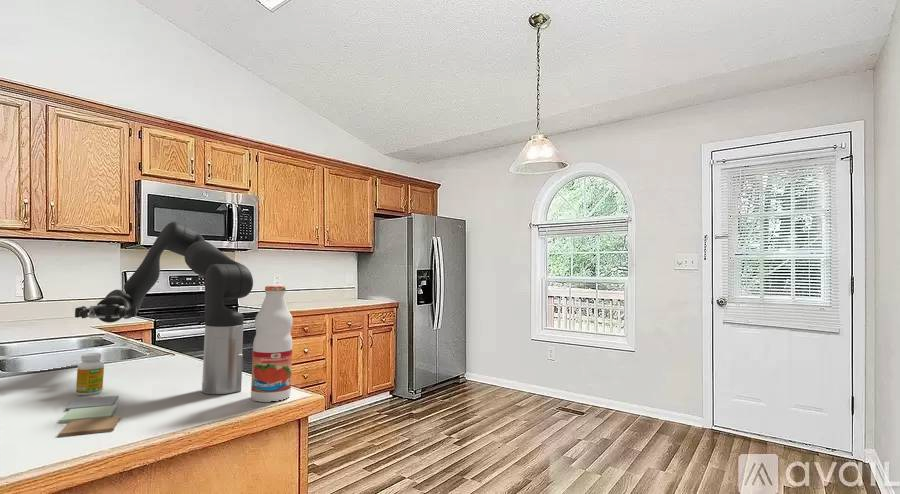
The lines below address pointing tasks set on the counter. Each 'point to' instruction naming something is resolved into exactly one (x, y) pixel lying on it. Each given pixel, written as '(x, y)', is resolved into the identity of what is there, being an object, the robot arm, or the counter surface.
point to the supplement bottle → (90, 375)
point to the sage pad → (88, 413)
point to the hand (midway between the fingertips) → (102, 314)
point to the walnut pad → (90, 426)
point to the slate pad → (93, 402)
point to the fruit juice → (272, 348)
